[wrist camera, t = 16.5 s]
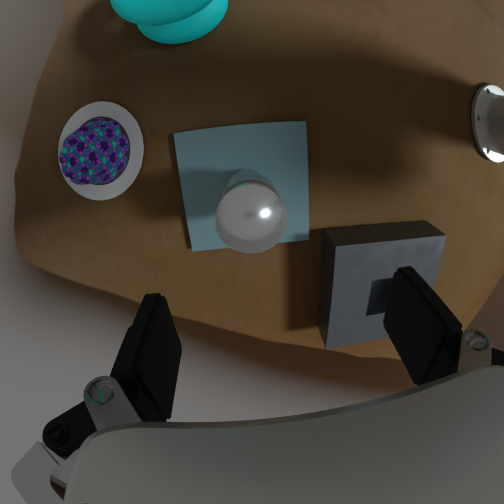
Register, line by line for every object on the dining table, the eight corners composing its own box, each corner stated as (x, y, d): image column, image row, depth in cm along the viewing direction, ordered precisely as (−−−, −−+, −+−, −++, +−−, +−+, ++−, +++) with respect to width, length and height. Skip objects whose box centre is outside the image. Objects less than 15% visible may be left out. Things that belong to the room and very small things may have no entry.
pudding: (166, 138, 28) (153, 142, 23) (112, 216, 32) (94, 234, 27) (93, 83, 24) (70, 81, 19) (48, 164, 28) (24, 174, 23)
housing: (426, 220, 34) (446, 235, 29) (406, 309, 41) (419, 328, 37) (323, 228, 34) (335, 246, 29) (317, 325, 41) (325, 349, 37)
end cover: (269, 160, 29) (285, 183, 20) (273, 209, 31) (288, 249, 23) (217, 166, 29) (210, 191, 20) (223, 214, 31) (220, 257, 23)
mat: (304, 120, 28) (306, 121, 27) (307, 237, 34) (308, 240, 33) (175, 133, 28) (173, 133, 27) (193, 248, 34) (192, 251, 33)
